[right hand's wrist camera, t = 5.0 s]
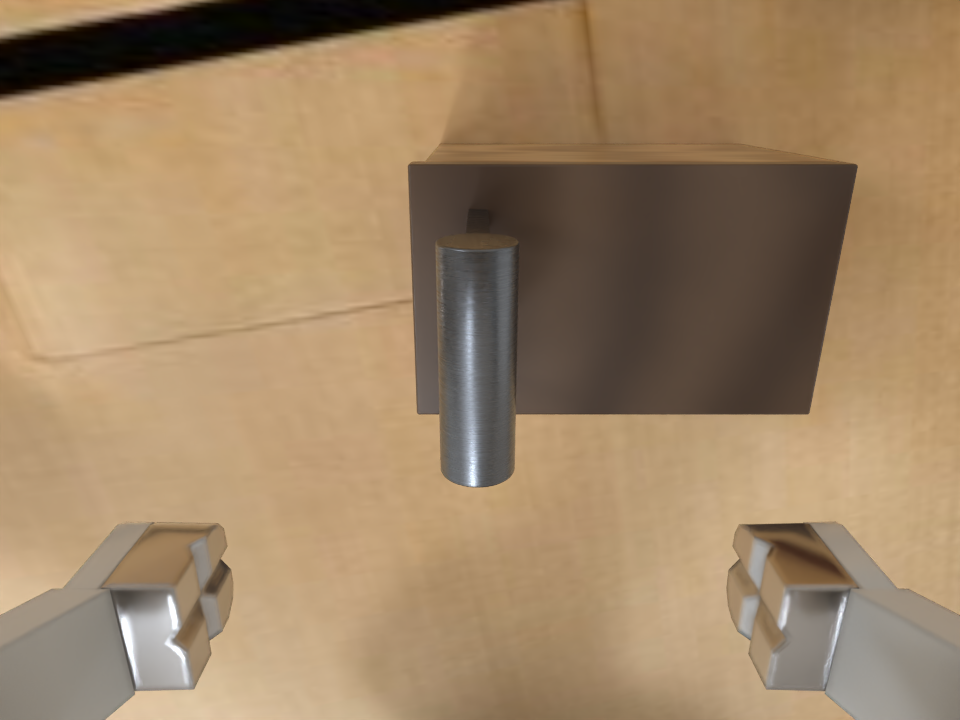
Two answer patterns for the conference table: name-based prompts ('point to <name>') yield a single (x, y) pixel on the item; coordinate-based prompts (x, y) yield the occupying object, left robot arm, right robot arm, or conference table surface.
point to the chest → (613, 153)
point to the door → (616, 292)
